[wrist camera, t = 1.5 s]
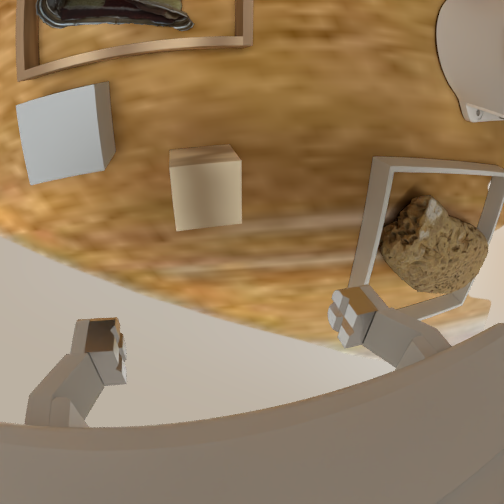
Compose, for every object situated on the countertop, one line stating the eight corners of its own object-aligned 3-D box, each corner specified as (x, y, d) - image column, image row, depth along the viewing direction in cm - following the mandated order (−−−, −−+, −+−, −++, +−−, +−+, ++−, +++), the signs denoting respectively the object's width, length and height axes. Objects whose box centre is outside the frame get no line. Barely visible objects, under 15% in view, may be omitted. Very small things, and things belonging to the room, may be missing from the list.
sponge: (355, 245, 37) (434, 310, 43) (391, 266, 29) (465, 334, 36) (410, 160, 35) (476, 242, 41) (453, 164, 27) (511, 257, 34)
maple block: (229, 144, 25) (241, 160, 21) (230, 197, 28) (241, 223, 24) (169, 149, 24) (169, 167, 20) (174, 203, 27) (176, 231, 23)
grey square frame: (497, 165, 34) (511, 173, 31) (452, 294, 47) (462, 305, 45) (373, 156, 29) (390, 166, 27) (337, 327, 42) (346, 342, 40)
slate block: (108, 81, 20) (94, 84, 16) (115, 151, 23) (104, 170, 19) (41, 97, 19) (15, 105, 15) (51, 164, 22) (30, 185, 18)
